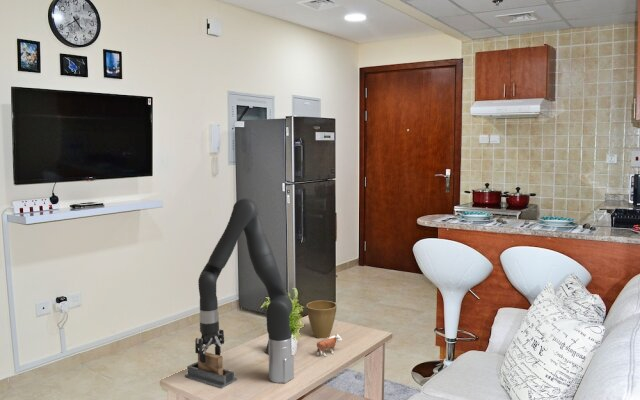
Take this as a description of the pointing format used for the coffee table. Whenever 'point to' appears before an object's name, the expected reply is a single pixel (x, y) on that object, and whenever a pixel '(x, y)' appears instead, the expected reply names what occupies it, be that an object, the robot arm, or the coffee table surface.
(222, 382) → the bottom track
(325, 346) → the bull figurine
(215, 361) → the door panel
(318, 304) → the plant pot
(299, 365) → the coffee table surface
